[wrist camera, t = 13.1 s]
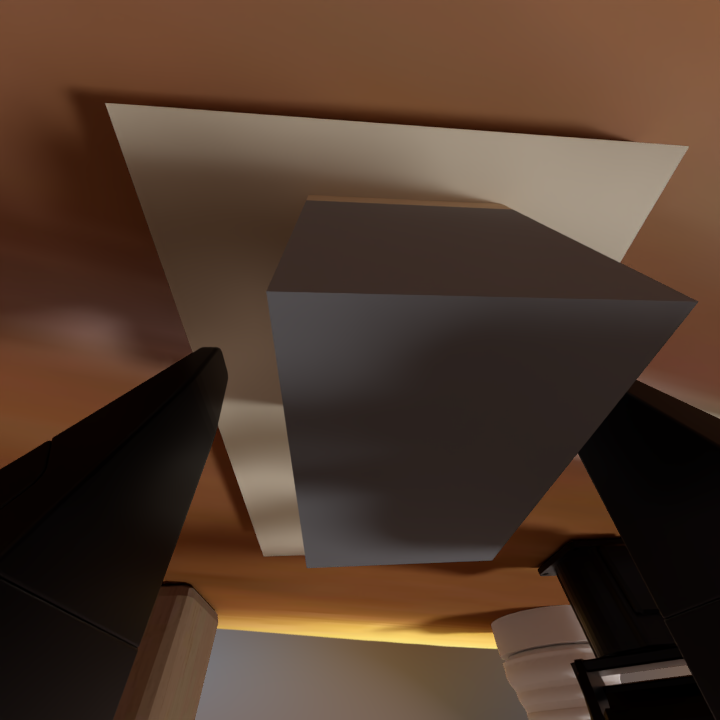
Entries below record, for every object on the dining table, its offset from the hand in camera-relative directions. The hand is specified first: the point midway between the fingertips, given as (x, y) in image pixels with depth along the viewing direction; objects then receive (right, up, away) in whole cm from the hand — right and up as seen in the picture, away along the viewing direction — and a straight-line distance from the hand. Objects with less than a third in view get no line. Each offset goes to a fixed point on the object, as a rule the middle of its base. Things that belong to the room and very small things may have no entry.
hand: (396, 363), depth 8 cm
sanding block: (0, +1, +1) cm, 1 cm away
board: (0, -3, +6) cm, 7 cm away
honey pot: (+23, -34, +33) cm, 53 cm away
